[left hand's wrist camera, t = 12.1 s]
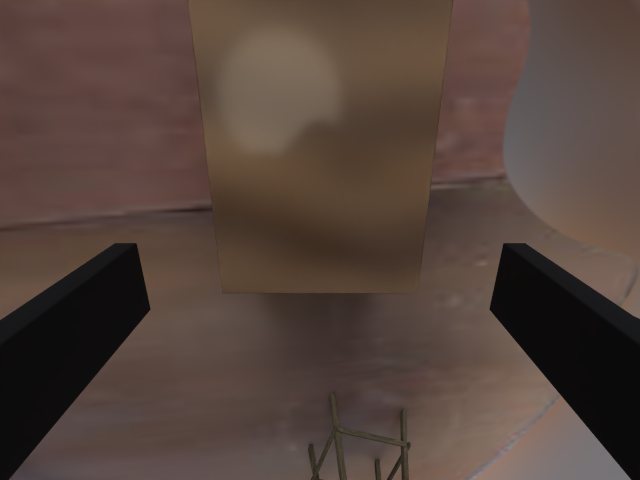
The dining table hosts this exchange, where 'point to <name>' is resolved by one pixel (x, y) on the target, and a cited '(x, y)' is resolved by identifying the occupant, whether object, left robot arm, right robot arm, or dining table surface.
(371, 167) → the cabinet
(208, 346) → the dining table surface
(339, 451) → the miniature windmill
